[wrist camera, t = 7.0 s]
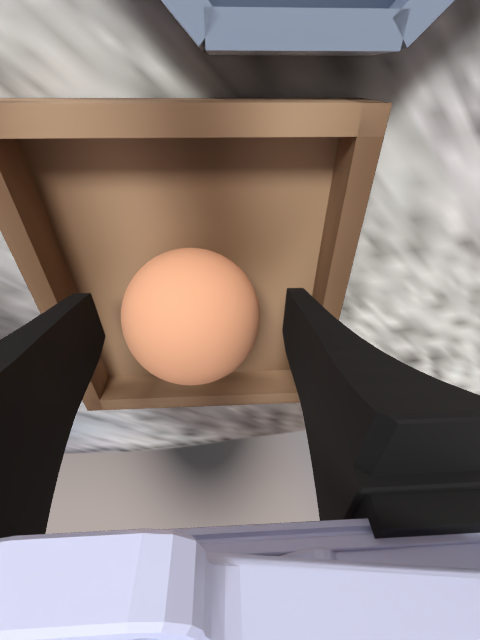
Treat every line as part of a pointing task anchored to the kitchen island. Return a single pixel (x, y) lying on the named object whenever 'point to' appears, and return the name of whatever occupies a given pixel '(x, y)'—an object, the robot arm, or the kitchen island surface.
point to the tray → (187, 214)
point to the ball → (190, 316)
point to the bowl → (305, 25)
